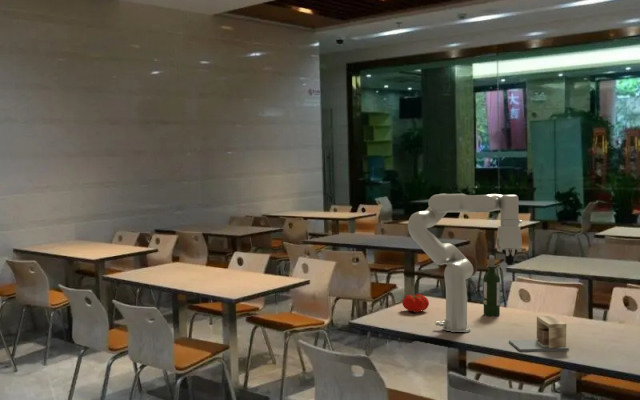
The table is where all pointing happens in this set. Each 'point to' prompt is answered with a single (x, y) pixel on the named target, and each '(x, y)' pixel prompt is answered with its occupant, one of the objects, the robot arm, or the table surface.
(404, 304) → the tomato
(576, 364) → the table surface
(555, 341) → the tan wooden block
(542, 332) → the brown wooden cube
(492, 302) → the wine bottle
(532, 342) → the board
